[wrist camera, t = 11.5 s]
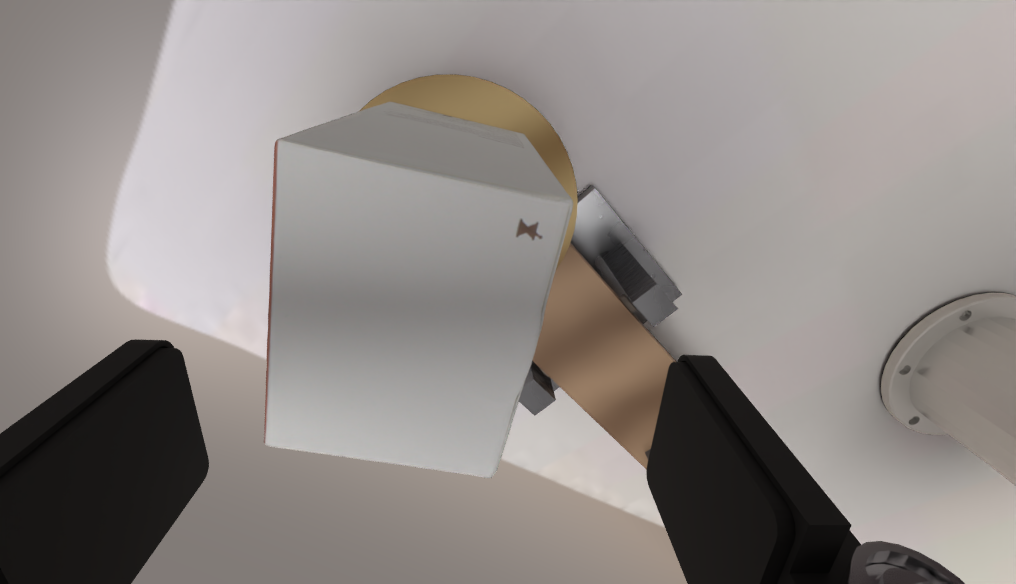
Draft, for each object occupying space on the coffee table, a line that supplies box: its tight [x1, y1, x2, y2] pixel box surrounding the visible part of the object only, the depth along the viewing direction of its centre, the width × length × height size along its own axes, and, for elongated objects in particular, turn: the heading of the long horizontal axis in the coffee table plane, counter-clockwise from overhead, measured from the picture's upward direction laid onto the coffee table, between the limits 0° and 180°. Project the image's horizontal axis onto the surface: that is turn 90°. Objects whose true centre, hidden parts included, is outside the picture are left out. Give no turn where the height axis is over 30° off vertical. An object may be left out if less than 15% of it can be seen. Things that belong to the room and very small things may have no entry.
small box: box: [264, 102, 573, 478], centre depth 17 cm, size 8×6×13 cm
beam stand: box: [519, 185, 682, 415], centre depth 31 cm, size 10×12×8 cm
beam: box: [360, 75, 676, 469], centre depth 26 cm, size 31×12×6 cm, turn 42°
